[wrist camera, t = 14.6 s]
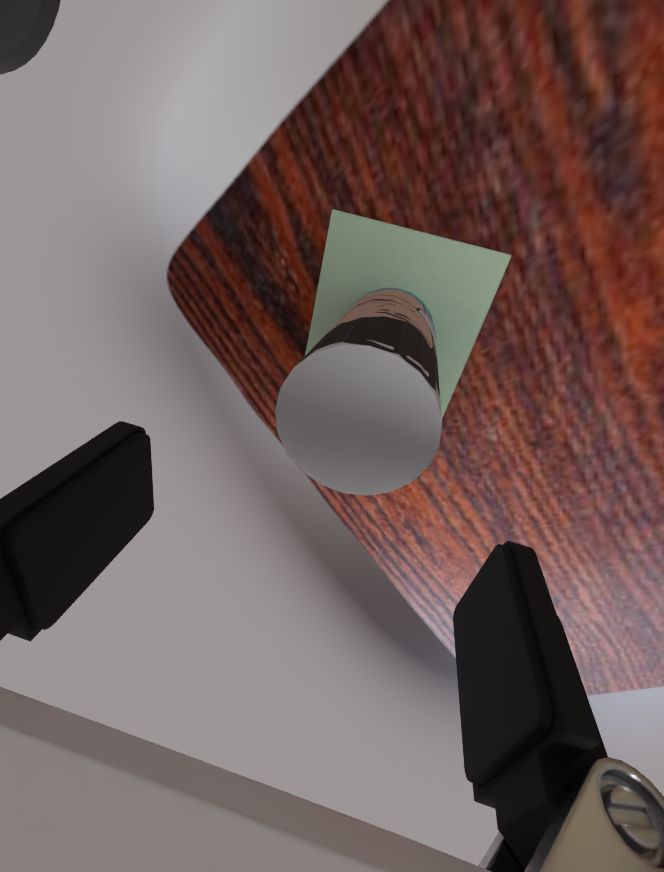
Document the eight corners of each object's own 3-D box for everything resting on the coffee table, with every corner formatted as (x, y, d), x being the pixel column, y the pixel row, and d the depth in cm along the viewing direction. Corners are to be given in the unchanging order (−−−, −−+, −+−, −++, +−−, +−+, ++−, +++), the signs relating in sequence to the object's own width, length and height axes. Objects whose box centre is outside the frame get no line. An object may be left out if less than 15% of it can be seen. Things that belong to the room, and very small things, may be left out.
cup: (446, 296, 26) (465, 363, 13) (422, 386, 29) (418, 511, 16) (350, 280, 27) (279, 329, 14) (338, 369, 30) (271, 475, 17)
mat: (299, 393, 32) (297, 396, 32) (333, 209, 25) (332, 209, 25) (434, 434, 31) (434, 437, 31) (510, 254, 24) (512, 255, 24)
